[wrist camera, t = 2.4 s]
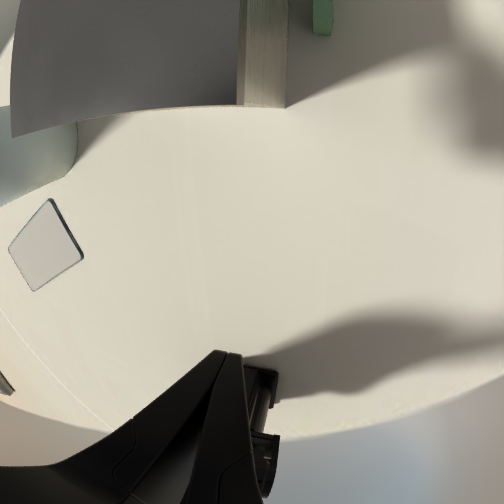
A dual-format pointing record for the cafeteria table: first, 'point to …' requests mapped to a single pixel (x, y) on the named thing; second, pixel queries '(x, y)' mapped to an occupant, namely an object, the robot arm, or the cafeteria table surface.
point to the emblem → (5, 386)
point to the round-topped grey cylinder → (33, 157)
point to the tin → (144, 58)
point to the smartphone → (44, 247)
